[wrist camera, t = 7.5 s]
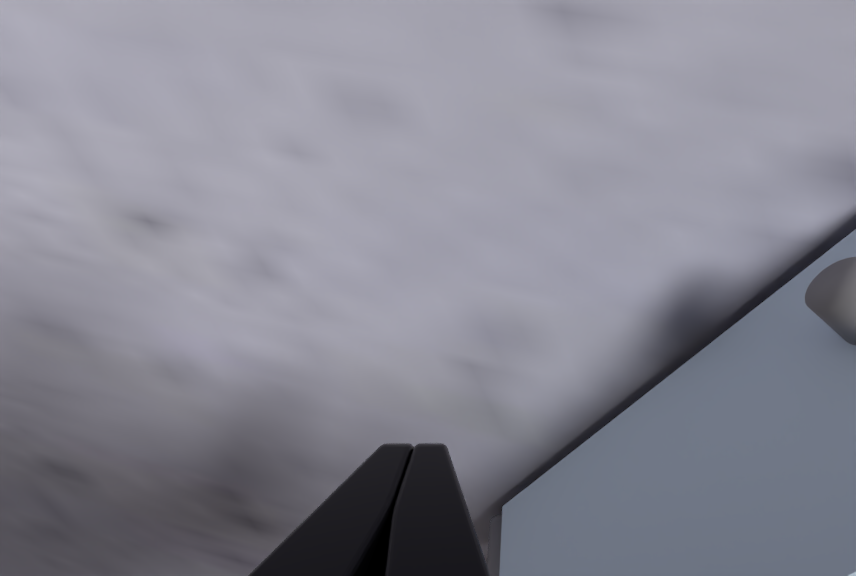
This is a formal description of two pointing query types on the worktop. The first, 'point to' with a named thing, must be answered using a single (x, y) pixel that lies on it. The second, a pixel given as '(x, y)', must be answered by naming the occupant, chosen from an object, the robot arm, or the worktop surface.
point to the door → (716, 457)
